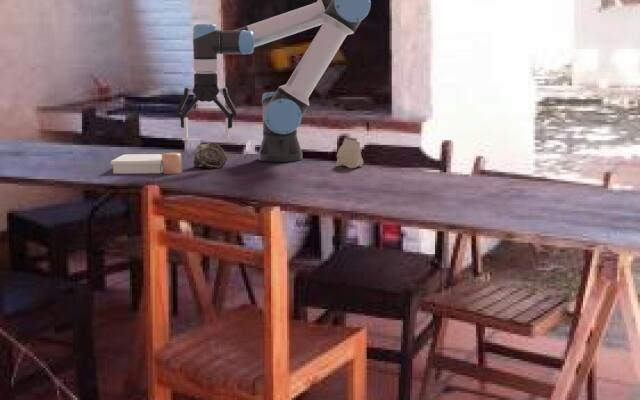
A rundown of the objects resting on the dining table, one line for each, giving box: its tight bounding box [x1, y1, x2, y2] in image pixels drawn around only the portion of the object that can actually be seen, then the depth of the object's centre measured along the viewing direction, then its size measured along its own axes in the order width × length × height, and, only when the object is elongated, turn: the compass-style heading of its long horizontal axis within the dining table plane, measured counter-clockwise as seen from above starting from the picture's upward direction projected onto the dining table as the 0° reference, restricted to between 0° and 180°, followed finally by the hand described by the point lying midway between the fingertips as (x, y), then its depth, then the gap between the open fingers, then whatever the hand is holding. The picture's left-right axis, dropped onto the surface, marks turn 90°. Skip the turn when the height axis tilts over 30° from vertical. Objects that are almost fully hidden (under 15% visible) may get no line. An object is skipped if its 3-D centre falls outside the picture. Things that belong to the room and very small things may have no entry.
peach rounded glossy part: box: [161, 152, 183, 175], centre depth 292 cm, size 6×6×6 cm
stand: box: [110, 153, 163, 175], centre depth 299 cm, size 16×16×4 cm
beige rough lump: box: [336, 137, 364, 169], centre depth 299 cm, size 9×8×10 cm
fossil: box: [193, 142, 228, 170], centre depth 303 cm, size 11×9×10 cm
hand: (206, 138), depth 301 cm, fingers open, 13 cm apart
